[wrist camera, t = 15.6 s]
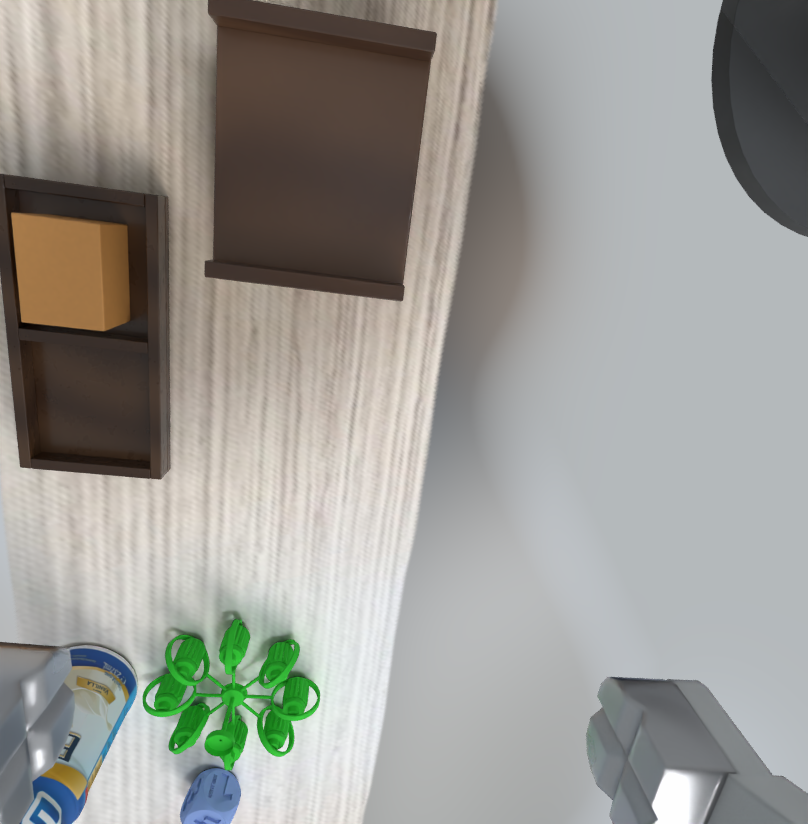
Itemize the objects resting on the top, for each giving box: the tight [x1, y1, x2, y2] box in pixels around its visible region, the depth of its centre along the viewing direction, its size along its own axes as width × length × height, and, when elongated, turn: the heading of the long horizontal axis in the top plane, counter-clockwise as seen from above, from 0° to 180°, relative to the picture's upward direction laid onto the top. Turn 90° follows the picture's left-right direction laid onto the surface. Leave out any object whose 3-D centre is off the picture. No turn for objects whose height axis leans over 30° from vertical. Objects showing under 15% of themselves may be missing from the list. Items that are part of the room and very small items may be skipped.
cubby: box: [205, 0, 437, 301], centre depth 31 cm, size 12×10×12 cm
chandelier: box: [143, 619, 320, 770], centre depth 46 cm, size 15×15×7 cm
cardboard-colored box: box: [11, 213, 130, 331], centre depth 35 cm, size 6×5×4 cm
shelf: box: [0, 174, 170, 479], centre depth 38 cm, size 20×10×2 cm, turn 173°
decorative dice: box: [180, 768, 241, 824], centre depth 51 cm, size 4×4×4 cm
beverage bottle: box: [19, 645, 138, 824], centre depth 39 cm, size 8×8×20 cm
